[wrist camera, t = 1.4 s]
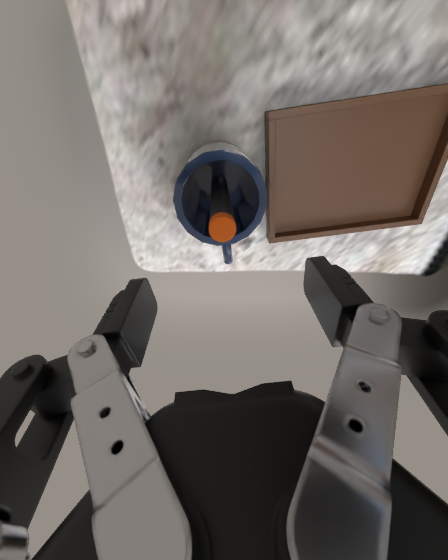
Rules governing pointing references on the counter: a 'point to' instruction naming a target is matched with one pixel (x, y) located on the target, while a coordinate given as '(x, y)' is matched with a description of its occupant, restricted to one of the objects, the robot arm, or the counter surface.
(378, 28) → the counter surface
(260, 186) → the mug
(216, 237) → the marker
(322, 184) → the tray
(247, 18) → the counter surface
